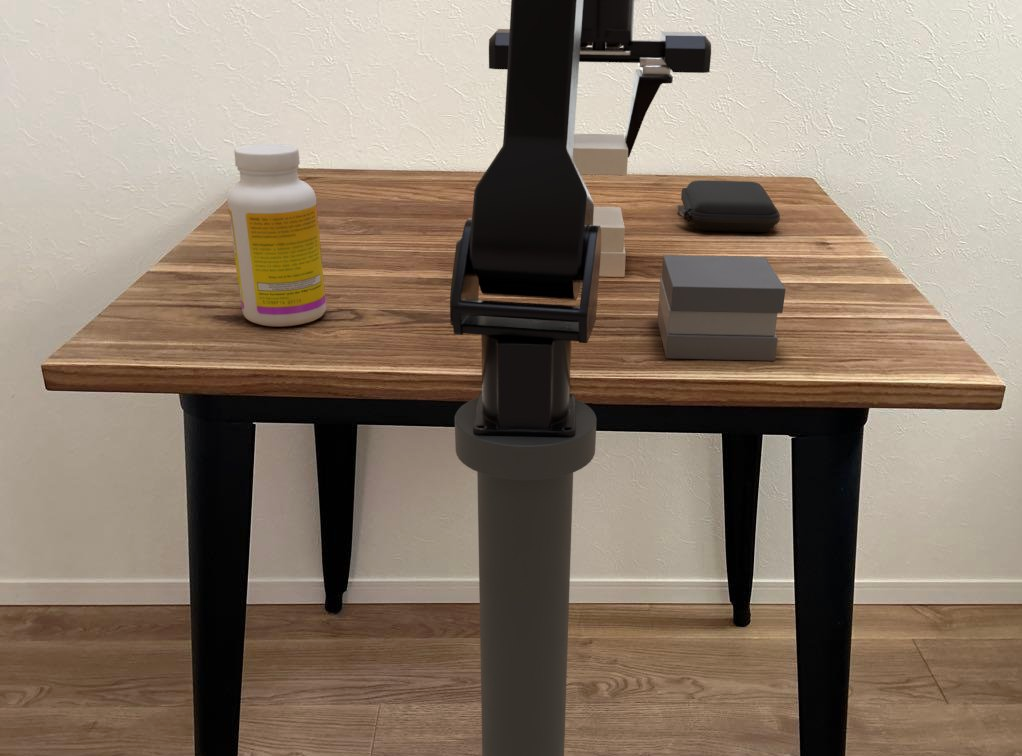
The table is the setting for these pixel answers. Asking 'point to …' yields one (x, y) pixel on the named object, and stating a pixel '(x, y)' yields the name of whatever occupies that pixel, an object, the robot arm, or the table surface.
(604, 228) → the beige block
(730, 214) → the carrying case
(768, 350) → the grey lidded box
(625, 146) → the beige rectangular block
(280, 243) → the supplement bottle
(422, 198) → the table surface
